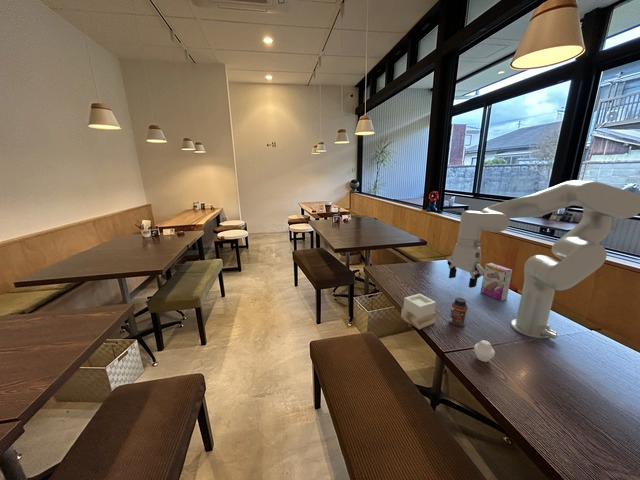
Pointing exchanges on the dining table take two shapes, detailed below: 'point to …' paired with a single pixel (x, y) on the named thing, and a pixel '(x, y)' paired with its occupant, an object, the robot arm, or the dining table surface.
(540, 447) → the dining table surface
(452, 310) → the supplement bottle
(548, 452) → the dining table surface
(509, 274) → the candy bar box
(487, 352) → the white cupcake
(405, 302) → the tower top
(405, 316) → the tower base
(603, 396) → the dining table surface
